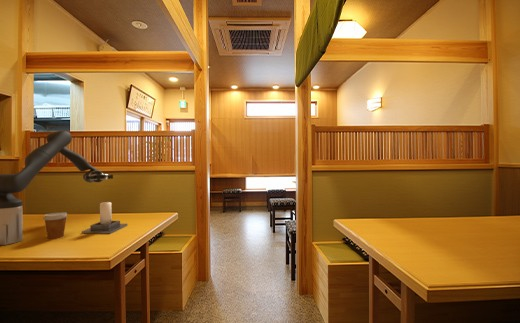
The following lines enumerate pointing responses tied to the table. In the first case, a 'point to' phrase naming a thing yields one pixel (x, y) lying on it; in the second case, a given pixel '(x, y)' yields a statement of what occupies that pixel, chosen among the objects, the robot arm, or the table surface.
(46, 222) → the disposable coffee cup
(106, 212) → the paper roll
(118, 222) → the stand
